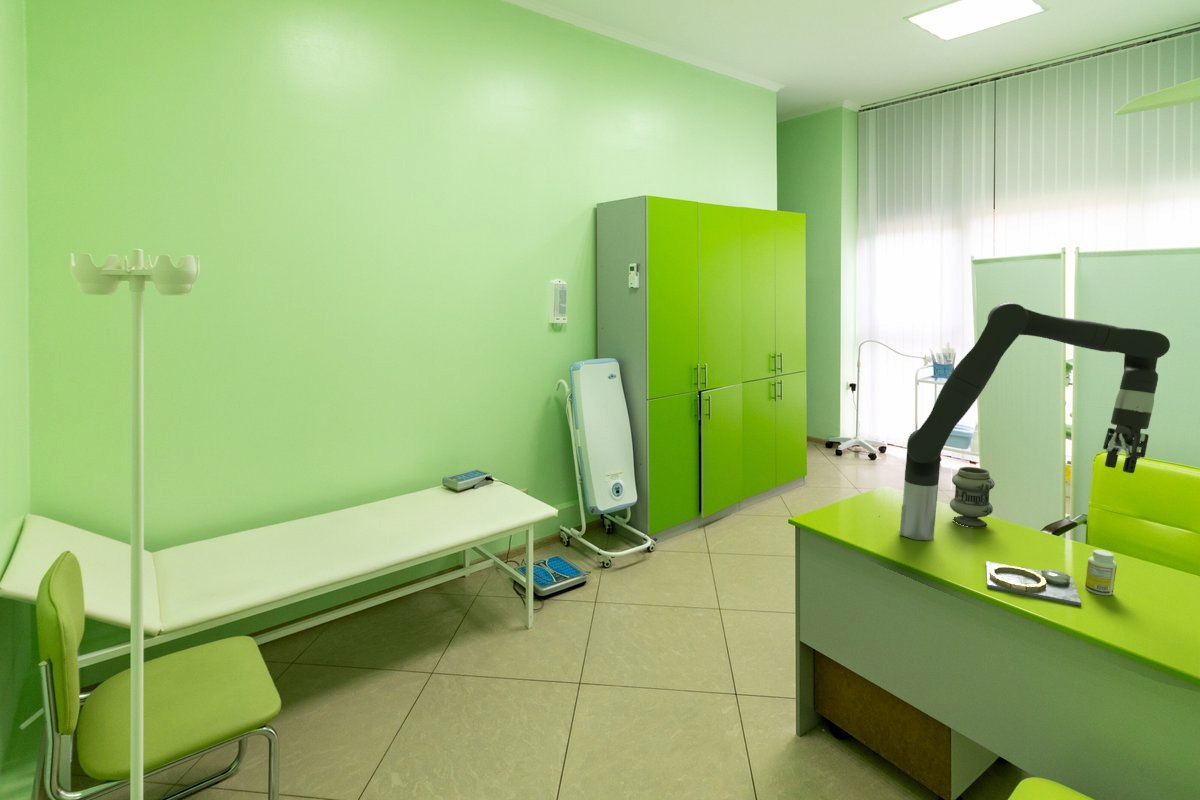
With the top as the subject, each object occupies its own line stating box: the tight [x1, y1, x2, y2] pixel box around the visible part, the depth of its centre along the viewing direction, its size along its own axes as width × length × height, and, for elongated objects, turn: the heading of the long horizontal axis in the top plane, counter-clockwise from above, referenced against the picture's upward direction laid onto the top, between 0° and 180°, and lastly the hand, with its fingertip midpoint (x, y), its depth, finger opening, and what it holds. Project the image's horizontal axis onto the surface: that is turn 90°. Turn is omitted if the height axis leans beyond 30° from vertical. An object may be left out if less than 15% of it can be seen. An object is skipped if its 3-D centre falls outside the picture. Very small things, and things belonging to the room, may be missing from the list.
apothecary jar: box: [949, 466, 995, 529], centre depth 199 cm, size 12×12×18 cm
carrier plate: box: [985, 560, 1082, 607], centre depth 158 cm, size 19×16×2 cm
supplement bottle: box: [1084, 549, 1118, 596], centre depth 154 cm, size 6×6×10 cm
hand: (1118, 469), depth 161 cm, fingers open, 8 cm apart
